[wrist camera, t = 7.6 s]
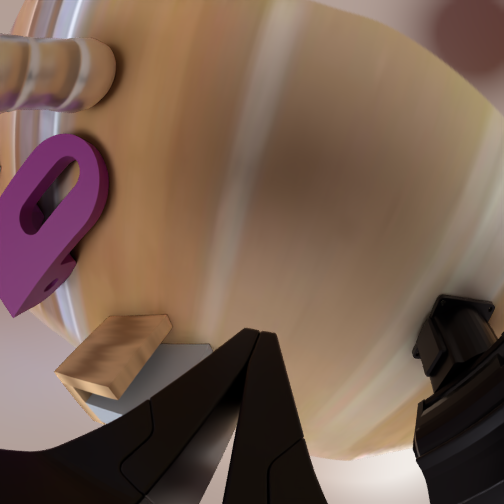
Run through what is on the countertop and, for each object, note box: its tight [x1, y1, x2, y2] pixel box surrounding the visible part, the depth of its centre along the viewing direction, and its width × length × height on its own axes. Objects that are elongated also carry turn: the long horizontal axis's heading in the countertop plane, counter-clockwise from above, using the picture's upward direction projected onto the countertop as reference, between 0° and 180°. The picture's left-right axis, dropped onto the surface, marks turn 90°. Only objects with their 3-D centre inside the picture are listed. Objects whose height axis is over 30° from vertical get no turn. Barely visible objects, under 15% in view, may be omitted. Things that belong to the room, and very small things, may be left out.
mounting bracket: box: [0, 134, 109, 318], centre depth 23 cm, size 10×8×18 cm
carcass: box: [54, 315, 172, 425], centre depth 24 cm, size 9×7×10 cm
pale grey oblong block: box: [85, 344, 213, 424], centre depth 24 cm, size 10×5×10 cm, turn 106°
